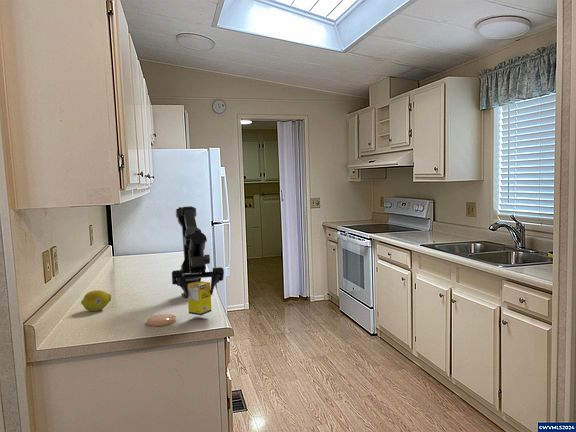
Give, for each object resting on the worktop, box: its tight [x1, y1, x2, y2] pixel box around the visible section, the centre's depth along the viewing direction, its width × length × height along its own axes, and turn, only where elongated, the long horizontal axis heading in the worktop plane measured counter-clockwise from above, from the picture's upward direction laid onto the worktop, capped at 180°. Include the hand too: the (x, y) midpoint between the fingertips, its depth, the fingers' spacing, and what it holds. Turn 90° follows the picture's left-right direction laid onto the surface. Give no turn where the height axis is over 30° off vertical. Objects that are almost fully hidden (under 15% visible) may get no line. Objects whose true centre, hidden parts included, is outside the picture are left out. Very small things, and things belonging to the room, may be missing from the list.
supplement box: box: [187, 280, 212, 316], centre depth 153 cm, size 6×6×11 cm
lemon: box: [80, 289, 112, 312], centre depth 166 cm, size 11×8×8 cm
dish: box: [146, 313, 177, 327], centre depth 150 cm, size 10×10×1 cm
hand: (199, 295), depth 152 cm, fingers closed on supplement box, 8 cm apart
